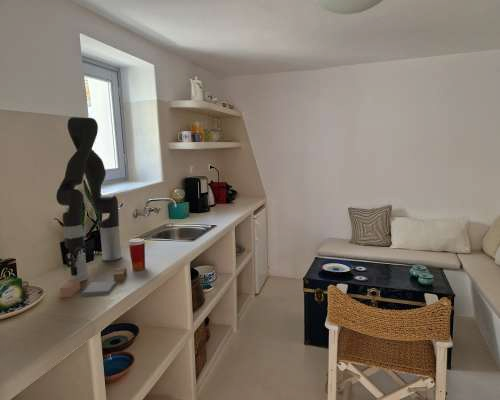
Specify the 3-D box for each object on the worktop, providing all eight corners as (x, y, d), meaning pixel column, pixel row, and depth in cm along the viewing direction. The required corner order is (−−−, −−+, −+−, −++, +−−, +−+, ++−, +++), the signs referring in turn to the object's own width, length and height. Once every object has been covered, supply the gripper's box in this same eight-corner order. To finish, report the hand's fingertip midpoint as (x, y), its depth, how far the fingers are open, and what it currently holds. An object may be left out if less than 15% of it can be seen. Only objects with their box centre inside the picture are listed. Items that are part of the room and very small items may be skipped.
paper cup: (139, 265, 167) (137, 237, 165) (150, 267, 163) (148, 239, 161) (126, 270, 160) (124, 241, 158) (137, 272, 156) (135, 243, 154)
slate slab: (92, 287, 143) (91, 282, 143) (116, 285, 144) (116, 280, 143) (82, 297, 133) (82, 292, 133) (109, 295, 134) (108, 290, 134)
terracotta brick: (70, 289, 140) (69, 280, 140) (80, 288, 140) (79, 279, 140) (61, 297, 132) (59, 288, 132) (71, 297, 133) (70, 287, 132)
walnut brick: (117, 276, 153) (116, 268, 152) (126, 275, 154) (126, 267, 153) (114, 283, 145) (113, 274, 145) (123, 282, 146) (123, 273, 145)
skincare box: (83, 277, 153) (81, 251, 151) (88, 279, 150) (85, 253, 148) (69, 281, 148) (66, 255, 146) (74, 283, 145) (71, 256, 144)
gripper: (72, 231, 153) (76, 267, 155) (57, 240, 139) (61, 278, 141) (89, 230, 153) (93, 266, 156) (76, 239, 139) (80, 277, 142)
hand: (78, 272), depth 148 cm, fingers closed on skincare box, 7 cm apart
